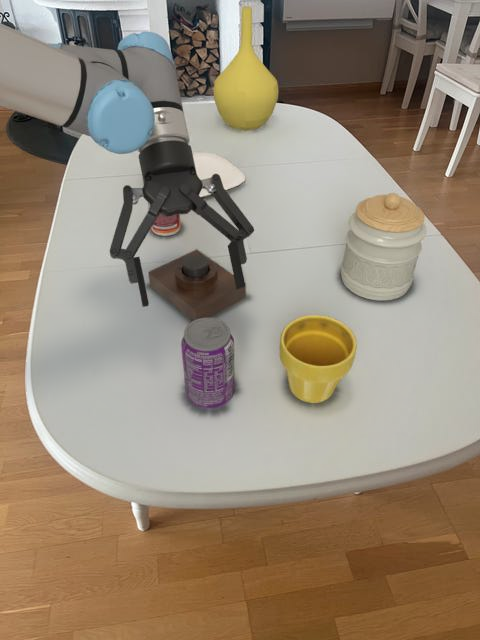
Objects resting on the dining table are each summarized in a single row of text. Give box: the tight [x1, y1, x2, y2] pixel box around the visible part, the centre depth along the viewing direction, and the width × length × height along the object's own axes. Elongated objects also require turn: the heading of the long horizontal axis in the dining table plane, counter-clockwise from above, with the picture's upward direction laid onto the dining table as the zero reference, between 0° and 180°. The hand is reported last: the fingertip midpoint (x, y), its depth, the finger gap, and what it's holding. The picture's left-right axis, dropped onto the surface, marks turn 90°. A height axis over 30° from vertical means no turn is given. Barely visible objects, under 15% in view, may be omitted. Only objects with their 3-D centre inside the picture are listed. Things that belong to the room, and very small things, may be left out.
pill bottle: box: [147, 202, 182, 237], centre depth 106 cm, size 6×6×11 cm
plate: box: [192, 151, 246, 199], centre depth 126 cm, size 22×22×2 cm
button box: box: [147, 249, 247, 322], centre depth 92 cm, size 14×11×5 cm
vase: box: [213, 6, 279, 131], centre depth 143 cm, size 18×18×30 cm
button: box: [182, 255, 208, 278], centre depth 90 cm, size 4×4×2 cm
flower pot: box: [279, 314, 358, 404], centre depth 74 cm, size 10×10×10 cm
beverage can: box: [180, 317, 235, 409], centre depth 72 cm, size 7×7×12 cm
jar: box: [340, 192, 427, 301], centre depth 91 cm, size 13×13×18 cm
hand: (194, 296), depth 72 cm, fingers open, 13 cm apart
